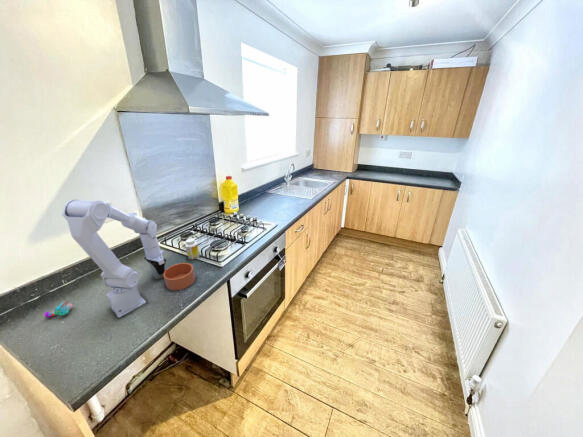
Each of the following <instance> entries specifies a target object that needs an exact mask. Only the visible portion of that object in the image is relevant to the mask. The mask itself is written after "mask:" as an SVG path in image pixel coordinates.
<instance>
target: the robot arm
mask: <svg viewBox="0 0 583 437" xmlns="http://www.w3.org/2000/svg"><path fill="white" fill-rule="evenodd" d="M61 216H62V217H63V218H64V219H65V220H66V221H67V225H68V228H69V232H70V235H71V237H72V239H73V240H74V241H75V242H76V243H77V244H78V245H79V247H81V249H82V250H83V251H84V252H85V253H86V254H87V255H88V256H89V257H90V259H91V260H92V261H93V262H94V264H96V265H97V266H98V268H99V269H100V270H101V271H102V272H101V274H100V278H101V279H102V281H103V285H104V286H105V287H107V288H108V287H109V288H110V291H109V292H108V293H106V298H107V300H108V303H109V304H110V308H111V311H112V312H113V313H115V315H116V316H117V318H122V317H123V316H125V315H127V314H129V313H131V312H132V311H134V310H135V309H137V308H139V307H140V306H142V305H145V304H146V303H147V301H146V300H145V299H144V298H143V297H142V296H141V294H140V290H139V288H138V283H139V281H140V275H139V273H138V272H137V271H135V270H133V269H132V268H131V267H130V266H127V265H125V264H123V263H122V262H121V261H120V260H119V259H118V257H117V256H116V255H115V253H114V252H113V251H112V249H111V248H110V247H109V245H107V243H106V242H105V241H104V240H103V238H102V237H101V236H100V235H99V233H98V231H100V230H101V228H102V227H103V225H104V224H105V222H106V220H107V218H108V219H111V220H114V221H117V222H120V223H121V225H122V226H123V227H124V228H127V229H130V230H131V231H133V232H134V233H135V234H138V235H139V238H140V242H141V244H142V247H143V251H144V254H145V256H144V260H145V261H147V264H149V262H150V261H151V260H152V261H156V262H153V263H151V265H153V266H154V267H155V269H156V271H157V273H158V274H159V275H161V274H163V273H164V267H165V266H166V263H167V259H166V258H163V254H164V253H165V251H164V250H162V249H161V247H160V244H159V241H158V237H157V235H158V234H157V233H158V232H157V230H158V225H157V223H156V222H154V220H152V219H151V220H150V219H147V218H146V217H144V216H140V215H138V213H137V212H133V211H132V212H127V213H126V212H124V211H122V210H120V209H118V208H116V207H114V206H113V205H111V203H108V202H105V201H103V200H82V199H71V200H69V201H67V202H66V203H65V204H64V207H63V211H62V215H61ZM165 268H166V267H165Z"/></svg>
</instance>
